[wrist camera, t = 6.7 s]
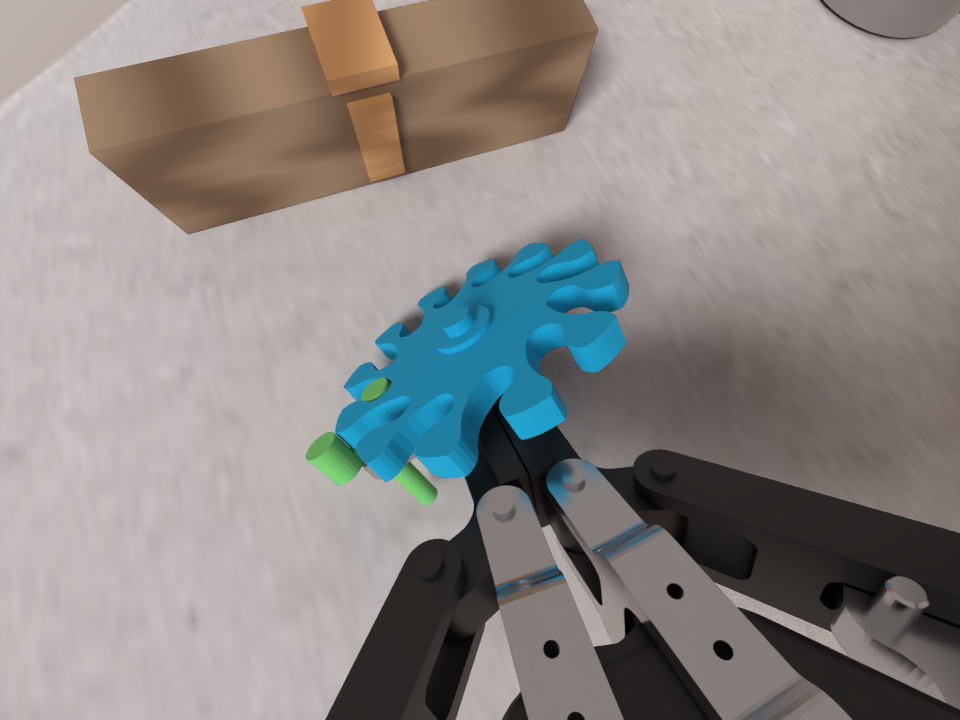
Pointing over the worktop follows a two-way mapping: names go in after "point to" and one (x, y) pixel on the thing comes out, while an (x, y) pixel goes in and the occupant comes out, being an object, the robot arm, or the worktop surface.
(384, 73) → the rail
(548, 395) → the gear
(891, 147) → the worktop surface
